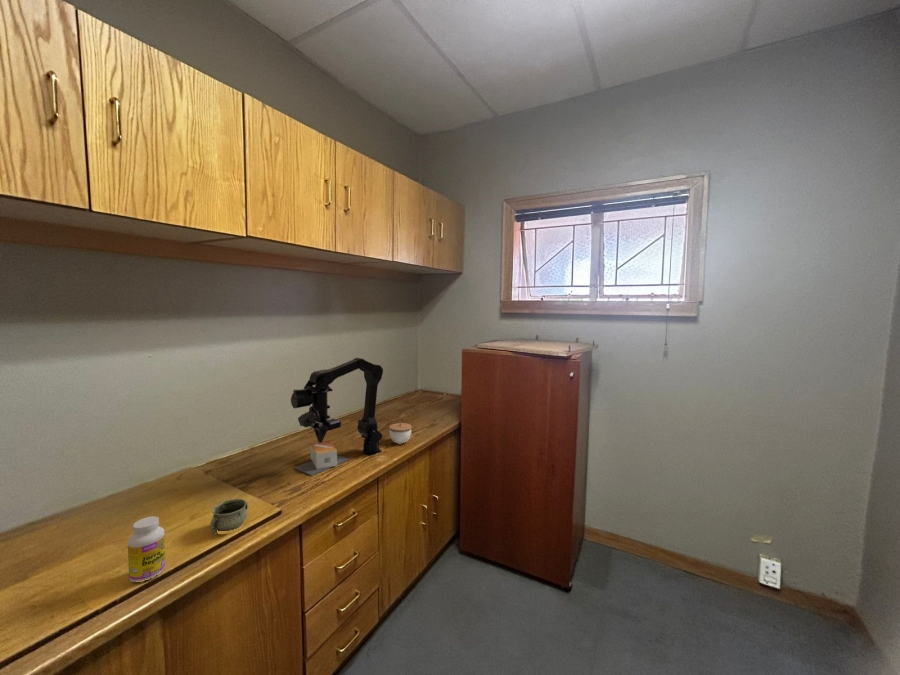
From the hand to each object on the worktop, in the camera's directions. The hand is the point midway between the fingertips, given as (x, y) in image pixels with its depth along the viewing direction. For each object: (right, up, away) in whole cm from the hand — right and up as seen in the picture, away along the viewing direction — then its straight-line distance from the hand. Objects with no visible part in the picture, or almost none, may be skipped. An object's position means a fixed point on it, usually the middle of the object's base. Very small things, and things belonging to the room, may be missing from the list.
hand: (320, 442), depth 141 cm
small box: (+3, -7, 0) cm, 8 cm away
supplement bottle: (-20, -15, -57) cm, 62 cm away
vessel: (-12, -14, -38) cm, 42 cm away
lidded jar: (+27, -9, +32) cm, 43 cm away
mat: (-1, -11, +5) cm, 12 cm away
